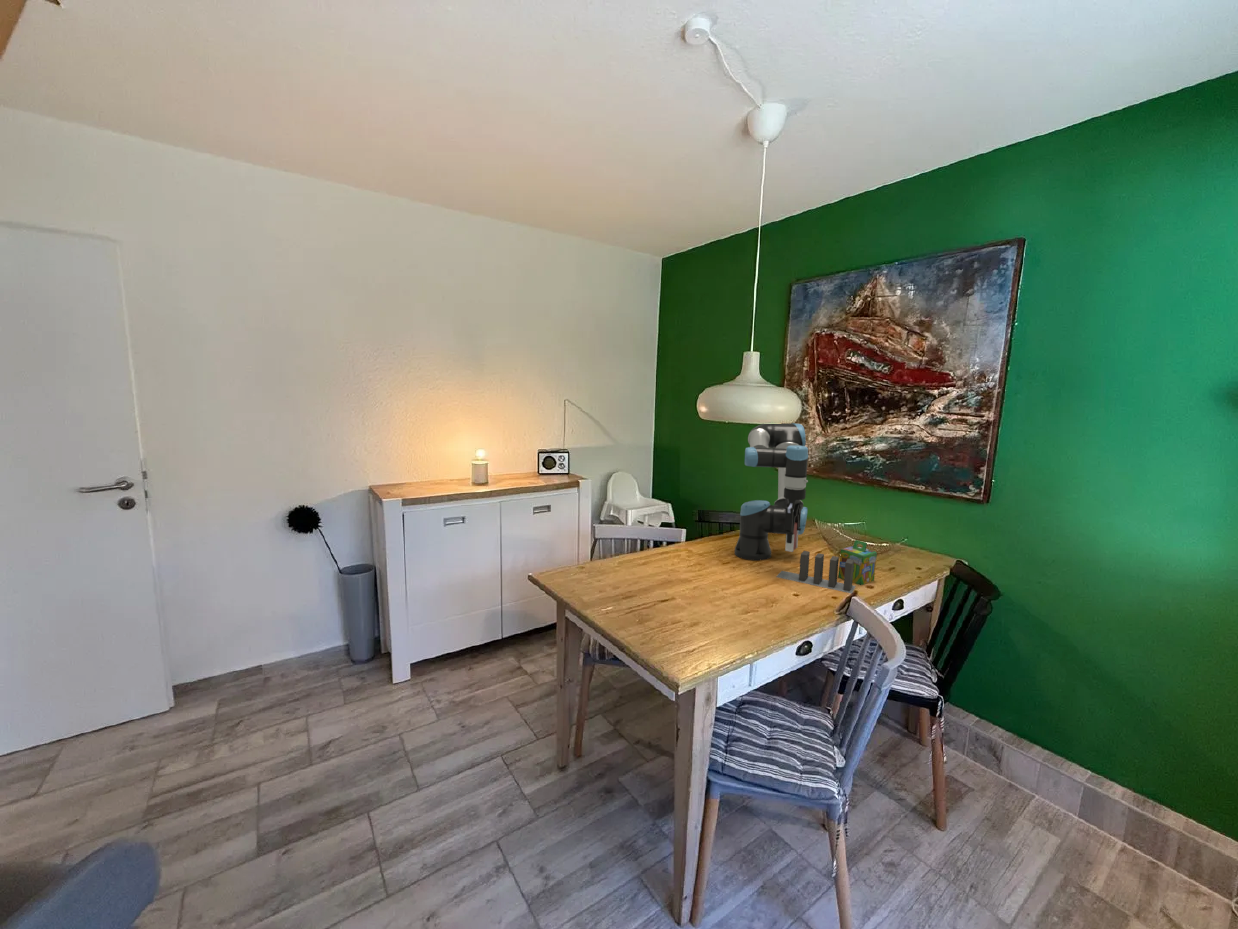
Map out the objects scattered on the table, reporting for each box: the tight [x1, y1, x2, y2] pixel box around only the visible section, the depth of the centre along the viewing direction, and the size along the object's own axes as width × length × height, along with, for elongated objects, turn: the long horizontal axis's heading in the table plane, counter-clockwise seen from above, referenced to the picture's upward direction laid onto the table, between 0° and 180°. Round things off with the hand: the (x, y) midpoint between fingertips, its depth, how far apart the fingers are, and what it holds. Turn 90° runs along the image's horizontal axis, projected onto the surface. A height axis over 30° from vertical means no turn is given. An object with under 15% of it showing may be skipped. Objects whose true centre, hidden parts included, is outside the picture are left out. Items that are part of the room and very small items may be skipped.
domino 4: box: [828, 555, 840, 588], centre depth 169 cm, size 2×5×10 cm, turn 145°
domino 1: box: [793, 522, 797, 552], centre depth 176 cm, size 2×5×10 cm, turn 145°
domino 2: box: [798, 550, 811, 582], centre depth 174 cm, size 2×5×10 cm, turn 145°
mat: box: [775, 570, 856, 594], centre depth 173 cm, size 26×8×1 cm, turn 55°
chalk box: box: [837, 539, 878, 586], centre depth 174 cm, size 9×9×15 cm
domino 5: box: [843, 559, 854, 591], centre depth 166 cm, size 2×5×10 cm, turn 145°
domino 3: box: [813, 553, 825, 585], centre depth 172 cm, size 2×5×10 cm, turn 145°
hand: (791, 549), depth 176 cm, fingers closed on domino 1, 5 cm apart
